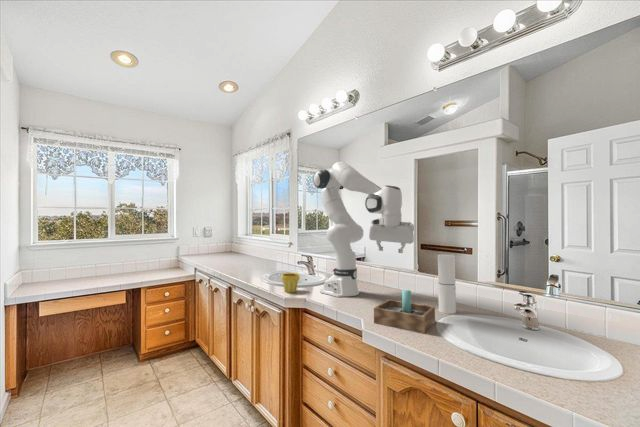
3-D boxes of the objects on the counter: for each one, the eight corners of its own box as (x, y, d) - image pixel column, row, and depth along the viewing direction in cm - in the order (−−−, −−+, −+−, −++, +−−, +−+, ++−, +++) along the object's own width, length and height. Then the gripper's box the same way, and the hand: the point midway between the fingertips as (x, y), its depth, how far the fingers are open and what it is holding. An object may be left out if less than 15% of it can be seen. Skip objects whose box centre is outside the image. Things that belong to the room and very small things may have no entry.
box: (373, 322, 122) (373, 307, 122) (388, 312, 134) (388, 299, 134) (424, 333, 110) (423, 316, 110) (435, 321, 122) (434, 306, 122)
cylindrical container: (435, 310, 137) (434, 255, 137) (447, 308, 140) (446, 254, 140) (447, 314, 131) (446, 256, 131) (459, 312, 133) (458, 255, 134)
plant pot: (303, 291, 175) (302, 274, 175) (288, 294, 168) (288, 277, 168) (292, 288, 183) (292, 272, 183) (278, 291, 176) (278, 274, 176)
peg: (404, 318, 127) (403, 289, 127) (412, 319, 125) (412, 290, 125) (401, 320, 124) (400, 291, 124) (409, 322, 122) (409, 292, 122)
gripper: (416, 222, 133) (415, 253, 133) (373, 220, 145) (373, 248, 145) (411, 222, 128) (410, 255, 128) (368, 220, 140) (367, 250, 140)
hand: (390, 251), depth 137 cm, fingers open, 8 cm apart
